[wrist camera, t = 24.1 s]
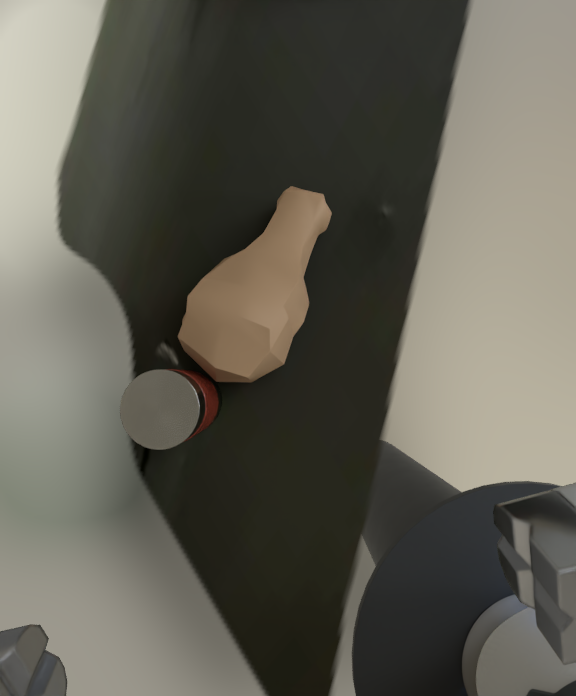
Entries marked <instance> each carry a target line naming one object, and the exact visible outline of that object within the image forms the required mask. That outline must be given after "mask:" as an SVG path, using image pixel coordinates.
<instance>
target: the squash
mask: <svg viewBox="0 0 576 696" xmlns="http://www.w3.org/2000/svg"><path fill="white" fill-rule="evenodd" d="M331 214H332V213H331V211H330V209H329V207H328V206H327V204H326V202H325V198H324V195H323V194H319V193H315V192H310V191H306V190H302V189H299V188H296V187H292V186H291V187H290V188H288V189H287V190H285V191H284V192H283V193H282V195H281V196H280V197H279V199H278V200H277V210H276V211H275V213H274V215H273V217H272V219H271V220H270V222H269V224H268V226H267V228H266V229H265V231H264V233H263V234H262V235H261V236H259V237H258V238H257V239H256V240H255V241H254V242H253V243H251V244H250V245H249V246H248V247H247V248H246V249H244V250H242V251H241V252H239V253H237V254H235V255H232V256H230V257H227V258H225V259H223V260H222V261H221V262H220V263H219V264H218V265H217V266H216V267H215V268H214V269H212V270H211V271H210V272H209V273H208V274H207V275H206V276H205V277H204V278H202V280H201V281H200V282H199V283H198V284H197V286H196V287H195V288H194V289H193V290H192V292H191V293H190V294H189V295H188V298H187V309H186V314H185V316H184V317H183V319H182V327H181V329H180V332H179V334H178V339H179V341H180V343H181V345H182V347H183V349H184V351H185V352H186V353H187V354H188V355H189V356H190V357H191V358H192V359H193V360H194V361H195V362H196V363H198V364H199V365H200V366H201V367H202V368H203V369H204V370H205V371H206V372H207V373H208V374H209V375H210V376H211V377H212V378H213V379H214V380H215V381H216V382H253V381H255V380H257V379H258V378H260V377H262V376H264V375H266V374H267V373H269V372H271V371H273V370H274V369H276V368H278V367H280V366H282V365H283V364H284V363H285V360H286V357H287V354H288V351H289V348H290V345H291V342H292V339H293V336H294V335H295V333H296V332H297V331H298V329H299V328H300V327H301V325H302V324H303V323H304V319H305V316H306V313H307V309H308V306H309V300H308V295H307V290H306V286H305V282H304V278H303V277H304V274H305V271H306V267H307V264H308V261H309V258H310V255H311V252H312V249H313V247H314V244H315V242H316V239H317V237H318V235H319V234H321V233H322V232H324V231H325V230H326V229H327V227H328V224H329V221H330V217H331Z"/></svg>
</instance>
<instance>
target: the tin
mask: <svg viewBox="0 0 576 696" xmlns="http://www.w3.org/2000/svg"><path fill="white" fill-rule="evenodd" d="M221 406H222V396H221V392H220V389H219V387H218V385H217V384H216V382H215V381H214V380H213V379H212V378H211V377H209V376H208V375H206V374H204V373H202V372H198V371H191V370H177V369H157V370H151V371H148V372H145V373H143V374H141V375H139V376H138V377H136V378H135V379H134V380H133V381H132V382H131V383H130V384H129V385H128V387H127V388H126V390H125V392H124V394H123V397H122V400H121V405H120V415H121V420H122V424H123V426H124V428H125V430H126V432H127V433H128V435H129V436H130V437H131V438H132V439H133V440H134V441H135V442H137V443H138V444H140V445H142V446H144V447H147V448H150V449H157V450H162V449H169V448H172V447H175V446H177V445H179V444H180V443H182V442H184V441H187V440H188V439H190V438H191V437H193V436H195V435H196V434H198V433H200V432H201V431H203V430H204V429H206V428H207V427H208V426H210V425H211V424H212V423H213V422H214V421H215V420H216V418H217V417H218V415H219V413H220V410H221Z"/></svg>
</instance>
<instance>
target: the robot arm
mask: <svg viewBox="0 0 576 696" xmlns="http://www.w3.org/2000/svg"><path fill="white" fill-rule="evenodd" d="M493 514H494V524H495V525H496V527H497V528H498V529H499V531H500V532H501V533H502V534H503V535H502V536H501V538H500V540H499V541H498V543H497V549H498V556H499V561H500V564H501V567H502V569H503V572H504V575H505V577H506V579H507V581H508V583H509V585H510V587H511V589H512V590H513V592H514V593H515V594H514V595H511V596H508V597H506V598H503V599H501V600H499V601H498V602H496V603H494V604H493V605H492V606H490V607H489V608H488V609H487V610H485V611H484V612H483V613H482V614H481V616H480V617H479V618H478V619H477V620H476V622H475V623H474V625H473V626H472V628H471V630H470V632H469V634H468V636H467V639H466V642H465V645H464V650H463V656H462V675H463V681H464V685H465V689H466V692H467V694H468V696H576V483H573V484H569V485H566V486H562V487H558V488H555V489H551V490H550V491H545V492H541V493H538V494H534V495H530V496H526V497H523V498H519V499H515V500H511V501H508V502H504V503H500V504H496V505H495V507H494V511H493ZM48 639H49V638H48V637H47V635H46V634H45V632H44V630H43V629H42V627H41V626H40V625H27V626H22V627H18V628H14V629H9V630H5V631H1V632H0V696H66V689H67V678H66V673H65V668H64V666H63V664H62V662H61V660H60V658H59V657H57V656H56V655H54V654H52V653H50V652H48V651H46V650H45V649H46V646H47V643H48Z"/></svg>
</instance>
